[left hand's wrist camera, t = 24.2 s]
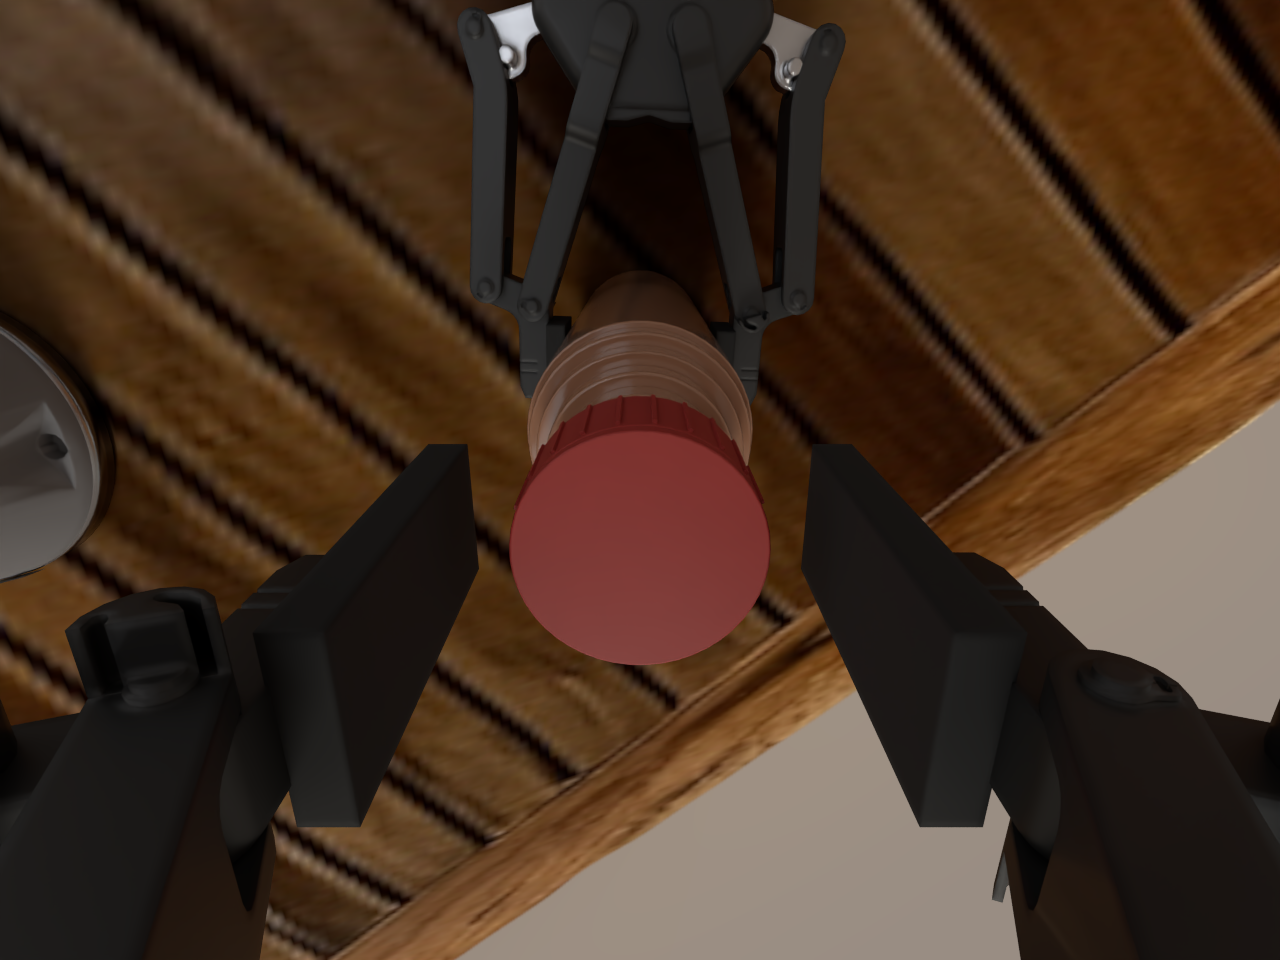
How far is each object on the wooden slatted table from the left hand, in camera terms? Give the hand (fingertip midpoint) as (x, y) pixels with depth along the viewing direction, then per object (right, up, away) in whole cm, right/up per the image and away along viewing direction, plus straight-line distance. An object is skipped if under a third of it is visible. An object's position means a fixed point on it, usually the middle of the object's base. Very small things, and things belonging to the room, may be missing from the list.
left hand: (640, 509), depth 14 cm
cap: (0, -1, -2) cm, 2 cm away
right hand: (0, +1, +17) cm, 17 cm away
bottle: (0, +8, +21) cm, 23 cm away
